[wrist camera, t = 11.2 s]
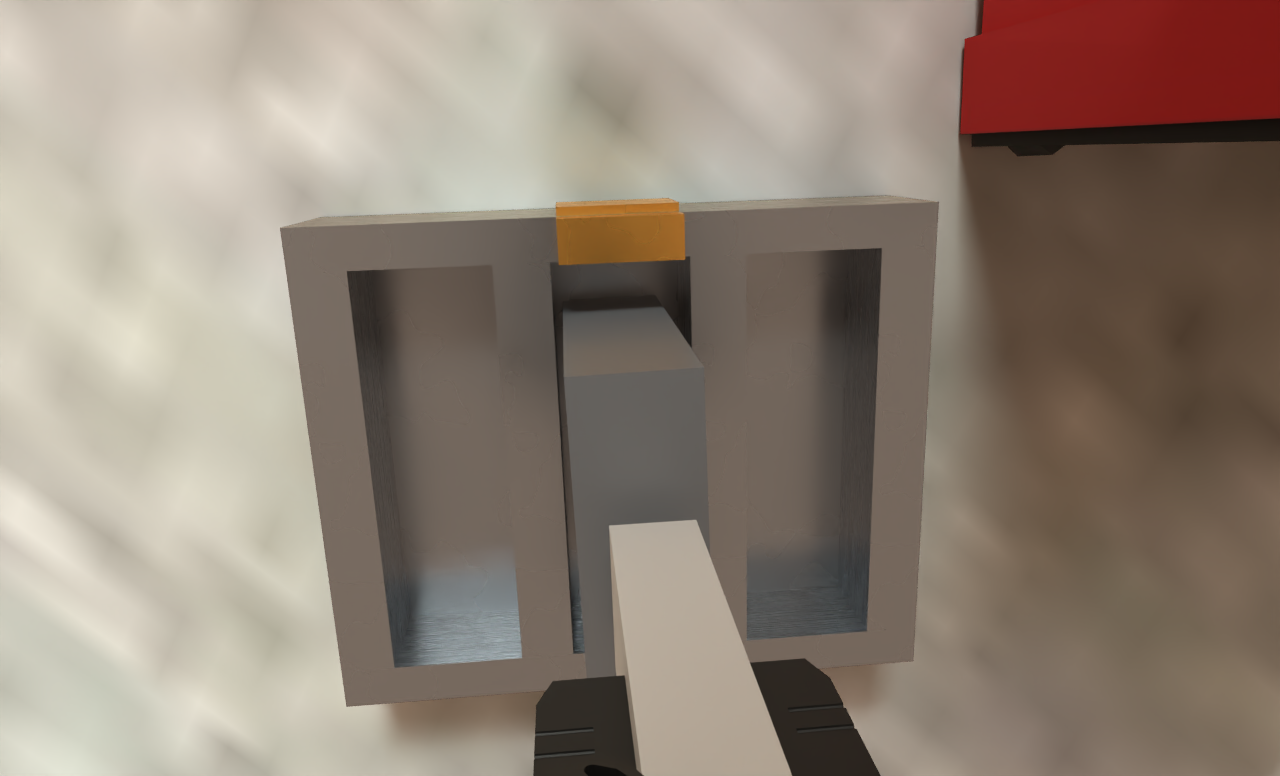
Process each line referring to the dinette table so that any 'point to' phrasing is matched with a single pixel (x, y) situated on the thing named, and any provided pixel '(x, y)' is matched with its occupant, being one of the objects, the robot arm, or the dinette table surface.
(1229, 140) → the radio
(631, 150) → the dinette table surface
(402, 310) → the rack
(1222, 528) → the dinette table surface
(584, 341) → the panel
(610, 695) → the robot arm
